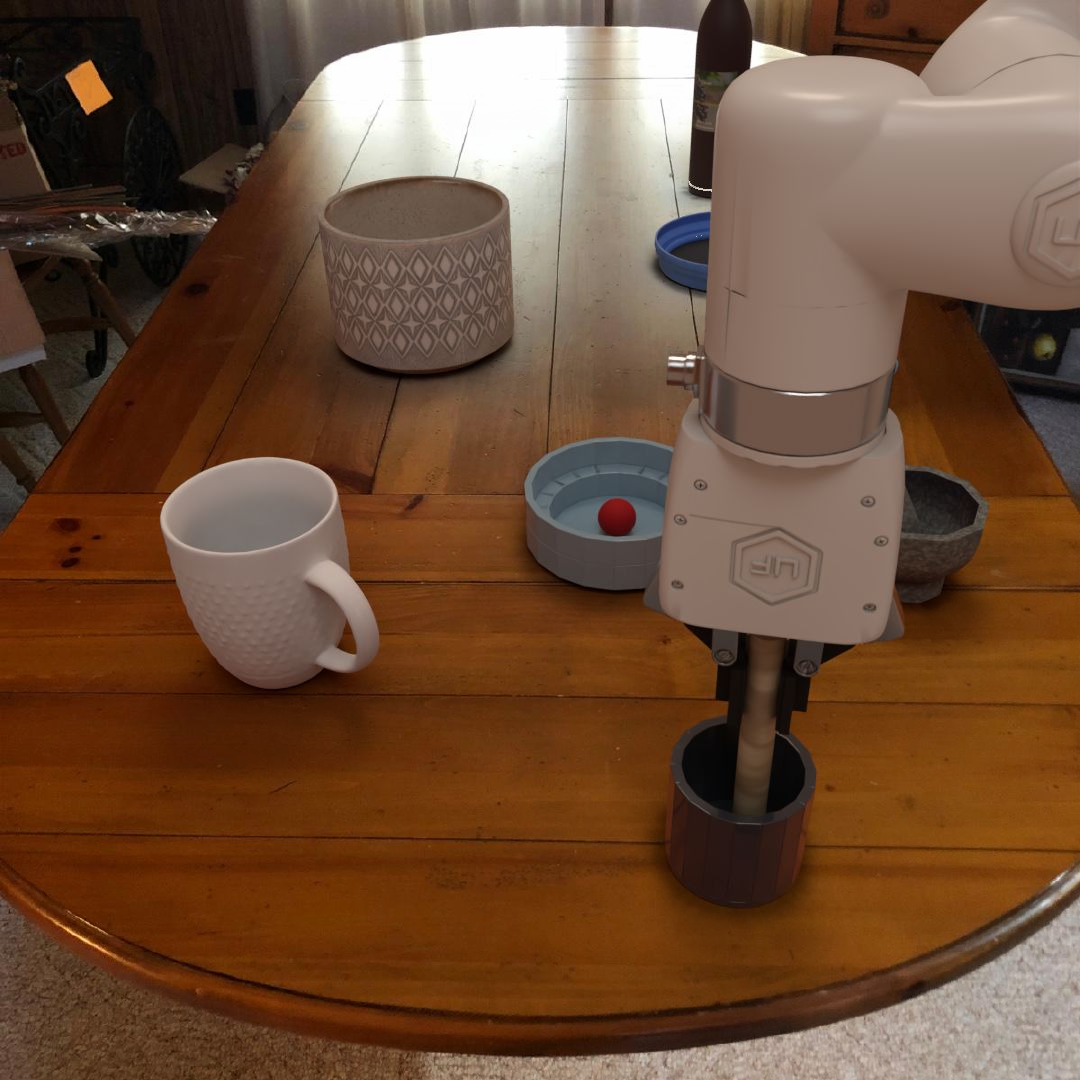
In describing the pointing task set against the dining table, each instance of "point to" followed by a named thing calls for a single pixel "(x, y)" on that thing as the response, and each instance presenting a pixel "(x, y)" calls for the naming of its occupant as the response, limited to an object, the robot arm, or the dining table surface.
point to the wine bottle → (715, 79)
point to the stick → (758, 724)
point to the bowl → (685, 249)
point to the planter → (419, 272)
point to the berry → (617, 517)
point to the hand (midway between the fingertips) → (760, 709)
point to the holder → (735, 818)
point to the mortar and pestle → (936, 531)
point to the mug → (268, 571)
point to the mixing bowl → (574, 502)
